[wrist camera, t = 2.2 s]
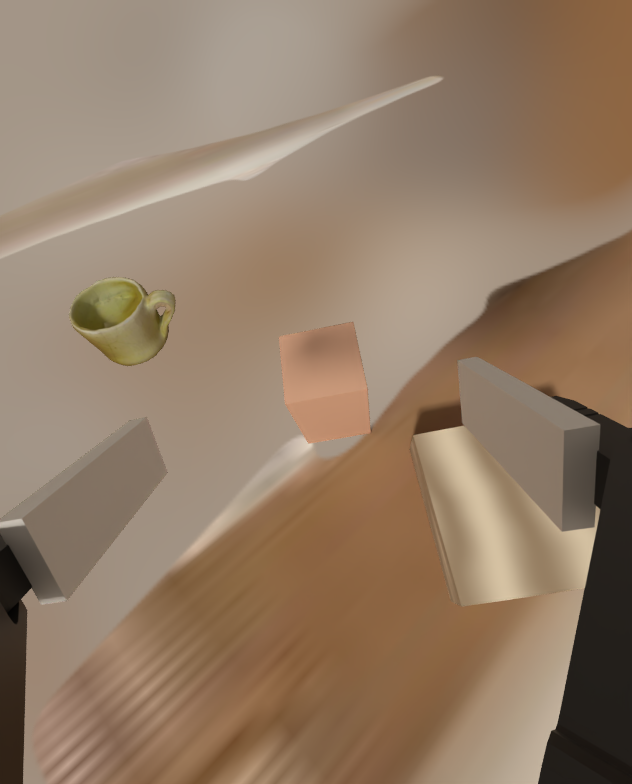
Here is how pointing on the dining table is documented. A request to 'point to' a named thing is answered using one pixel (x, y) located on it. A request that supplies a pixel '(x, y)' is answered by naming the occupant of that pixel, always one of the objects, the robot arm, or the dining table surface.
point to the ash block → (492, 525)
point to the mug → (123, 319)
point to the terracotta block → (325, 382)
